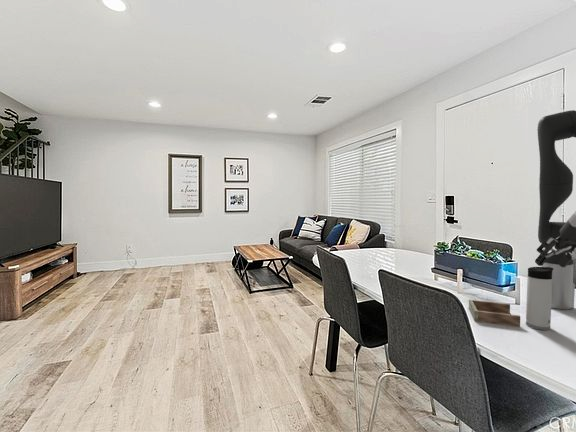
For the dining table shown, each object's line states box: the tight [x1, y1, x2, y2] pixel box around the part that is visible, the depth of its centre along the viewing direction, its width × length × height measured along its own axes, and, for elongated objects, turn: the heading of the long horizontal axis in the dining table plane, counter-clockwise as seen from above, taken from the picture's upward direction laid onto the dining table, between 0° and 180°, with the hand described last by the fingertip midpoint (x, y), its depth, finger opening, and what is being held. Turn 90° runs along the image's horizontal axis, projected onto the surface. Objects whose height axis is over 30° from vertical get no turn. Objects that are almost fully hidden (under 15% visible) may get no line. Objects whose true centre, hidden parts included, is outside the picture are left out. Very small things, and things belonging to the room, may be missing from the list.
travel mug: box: [525, 266, 553, 331], centre depth 98 cm, size 6×7×20 cm
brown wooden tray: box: [468, 299, 521, 328], centre depth 107 cm, size 13×13×4 cm
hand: (549, 264), depth 96 cm, fingers open, 8 cm apart
